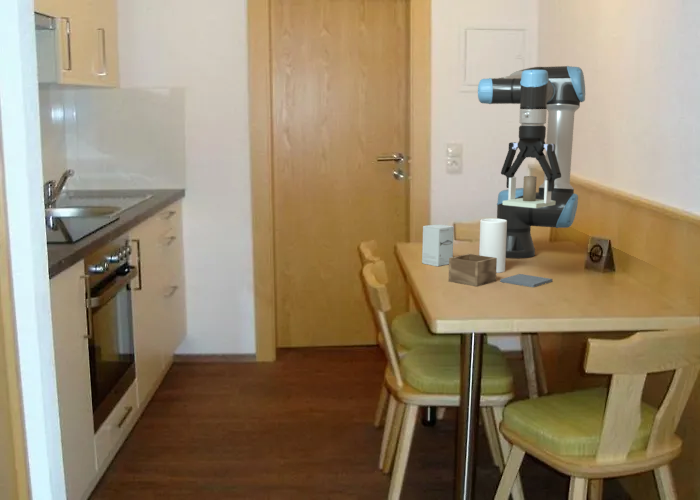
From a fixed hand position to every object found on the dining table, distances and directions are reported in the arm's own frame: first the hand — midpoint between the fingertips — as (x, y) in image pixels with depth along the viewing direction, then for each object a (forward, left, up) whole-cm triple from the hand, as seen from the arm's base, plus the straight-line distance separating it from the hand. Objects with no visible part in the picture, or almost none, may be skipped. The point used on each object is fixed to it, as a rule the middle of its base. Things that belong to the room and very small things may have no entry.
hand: (529, 201), depth 241 cm
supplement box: (-5, -36, -24) cm, 44 cm away
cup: (-8, -17, -24) cm, 31 cm away
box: (+10, -12, -24) cm, 29 cm away
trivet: (0, 0, -24) cm, 24 cm away
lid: (0, 0, -1) cm, 1 cm away
